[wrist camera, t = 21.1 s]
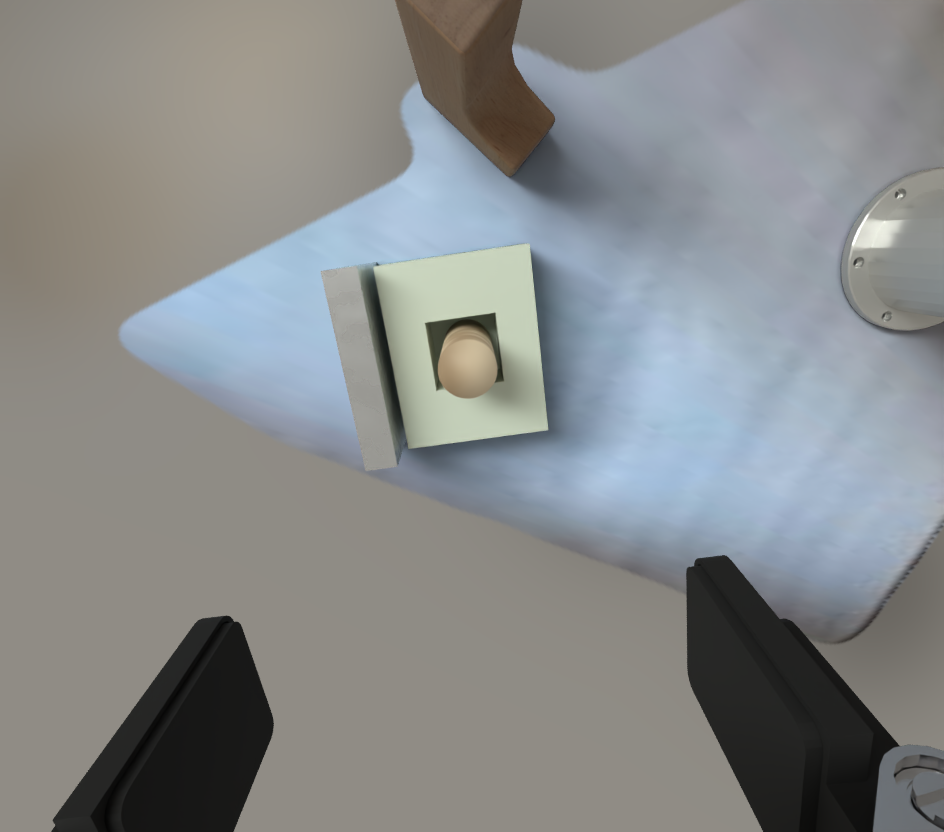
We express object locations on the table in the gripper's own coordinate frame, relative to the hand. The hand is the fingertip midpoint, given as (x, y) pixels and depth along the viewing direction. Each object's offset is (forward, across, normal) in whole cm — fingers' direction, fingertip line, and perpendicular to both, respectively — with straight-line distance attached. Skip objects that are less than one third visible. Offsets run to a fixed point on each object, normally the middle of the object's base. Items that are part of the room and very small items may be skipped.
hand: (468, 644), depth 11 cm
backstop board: (+36, +8, 0) cm, 37 cm away
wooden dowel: (+35, 0, 0) cm, 35 cm away
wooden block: (+36, -4, -17) cm, 40 cm away
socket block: (+36, 0, 0) cm, 36 cm away
